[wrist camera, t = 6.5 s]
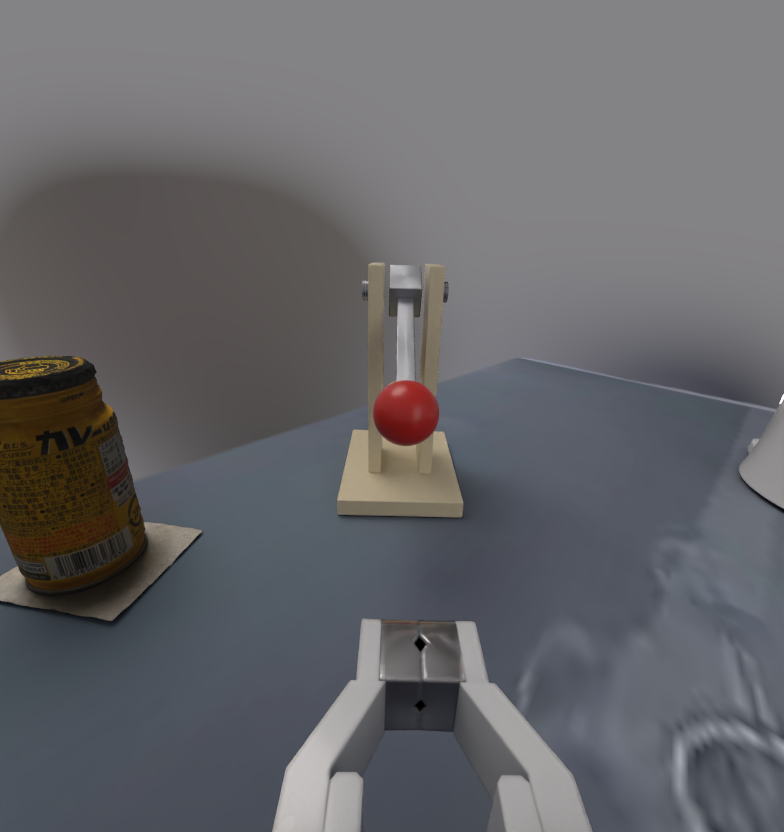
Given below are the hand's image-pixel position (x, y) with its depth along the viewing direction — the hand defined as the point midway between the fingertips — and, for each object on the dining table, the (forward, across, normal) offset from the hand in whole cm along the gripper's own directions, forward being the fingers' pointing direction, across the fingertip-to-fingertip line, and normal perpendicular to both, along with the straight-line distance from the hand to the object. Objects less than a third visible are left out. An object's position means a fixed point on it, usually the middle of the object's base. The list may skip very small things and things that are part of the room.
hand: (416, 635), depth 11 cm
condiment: (+11, +18, +8) cm, 23 cm away
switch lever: (+18, 0, -2) cm, 18 cm away
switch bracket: (+22, 0, +8) cm, 23 cm away
